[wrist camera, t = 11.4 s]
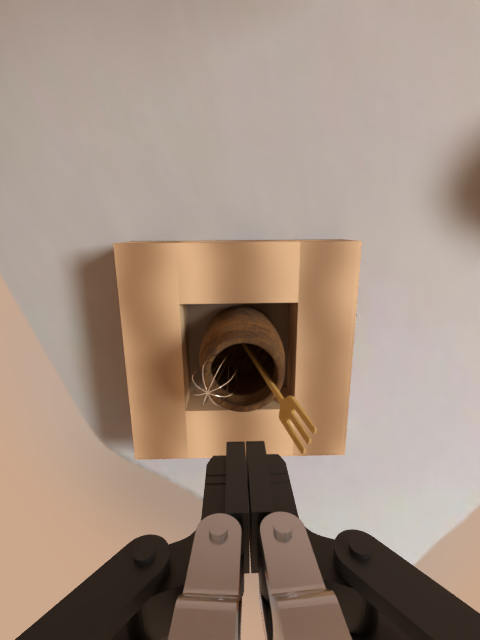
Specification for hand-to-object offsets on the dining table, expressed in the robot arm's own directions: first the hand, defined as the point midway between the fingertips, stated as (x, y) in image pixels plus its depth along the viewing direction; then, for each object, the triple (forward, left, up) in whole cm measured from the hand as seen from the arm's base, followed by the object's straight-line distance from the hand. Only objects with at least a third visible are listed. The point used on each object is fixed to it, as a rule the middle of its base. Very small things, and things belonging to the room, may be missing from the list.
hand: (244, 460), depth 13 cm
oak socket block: (0, 0, -15) cm, 15 cm away
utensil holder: (0, 0, -15) cm, 15 cm away
